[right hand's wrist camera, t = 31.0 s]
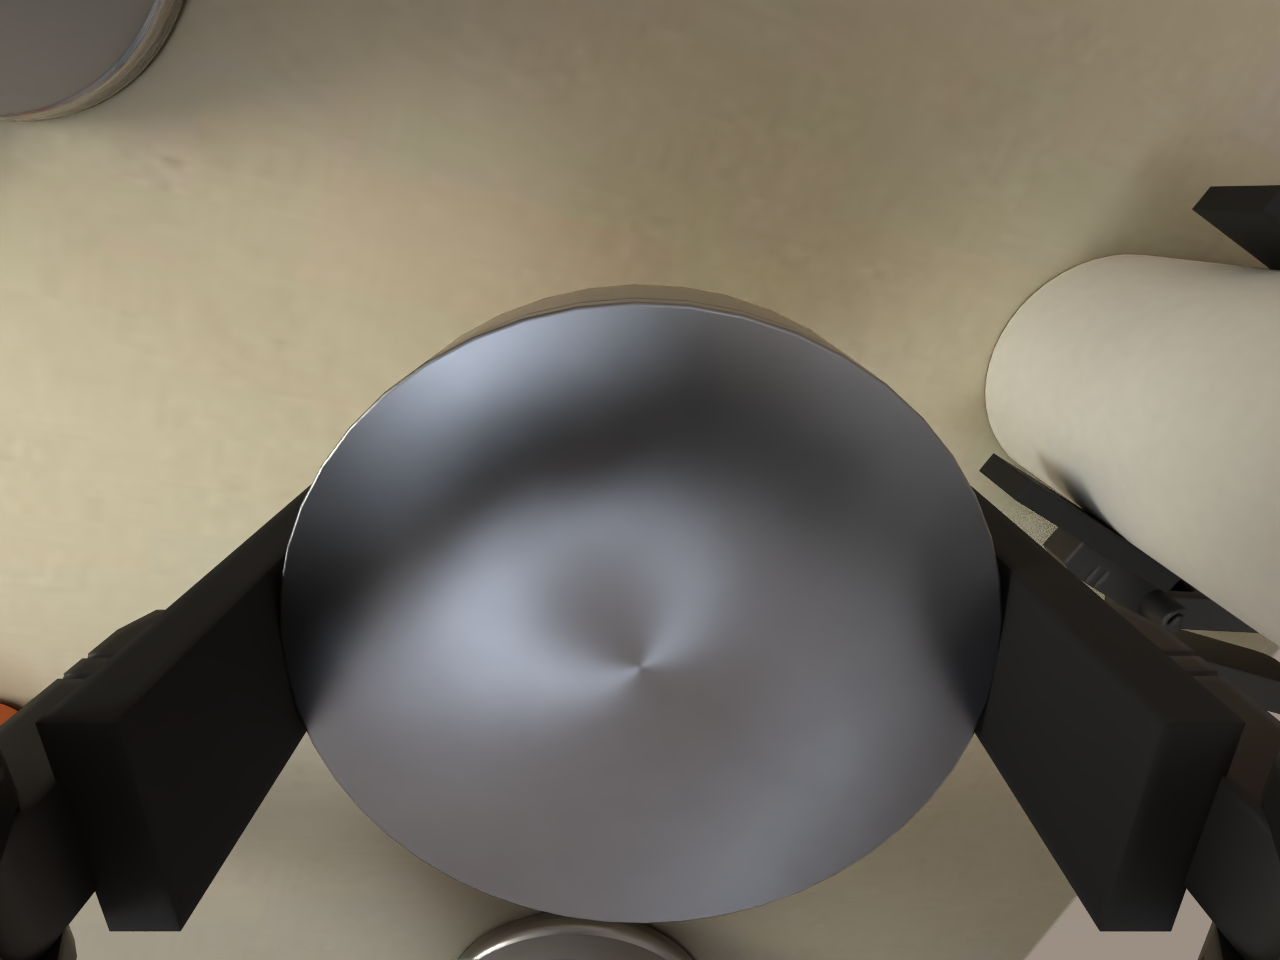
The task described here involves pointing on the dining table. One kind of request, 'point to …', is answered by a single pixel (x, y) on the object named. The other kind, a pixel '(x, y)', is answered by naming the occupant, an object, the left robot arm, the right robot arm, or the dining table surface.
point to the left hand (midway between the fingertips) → (1111, 346)
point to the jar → (1157, 414)
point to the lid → (640, 608)
